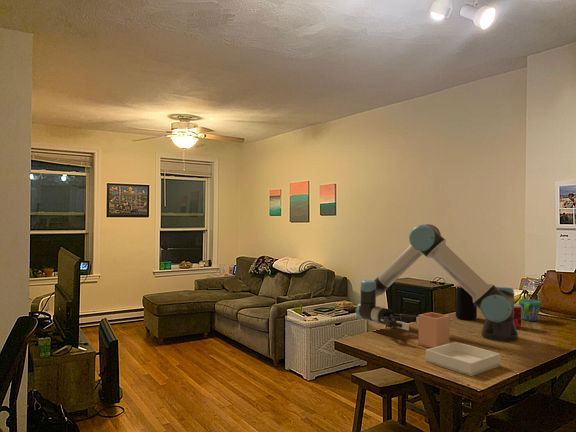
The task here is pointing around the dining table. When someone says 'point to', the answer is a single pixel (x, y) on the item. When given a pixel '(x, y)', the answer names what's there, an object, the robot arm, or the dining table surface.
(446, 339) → the box
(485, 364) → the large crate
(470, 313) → the coffee jar
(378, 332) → the dining table surface
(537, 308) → the snack cup
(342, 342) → the dining table surface
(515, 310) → the canned food
